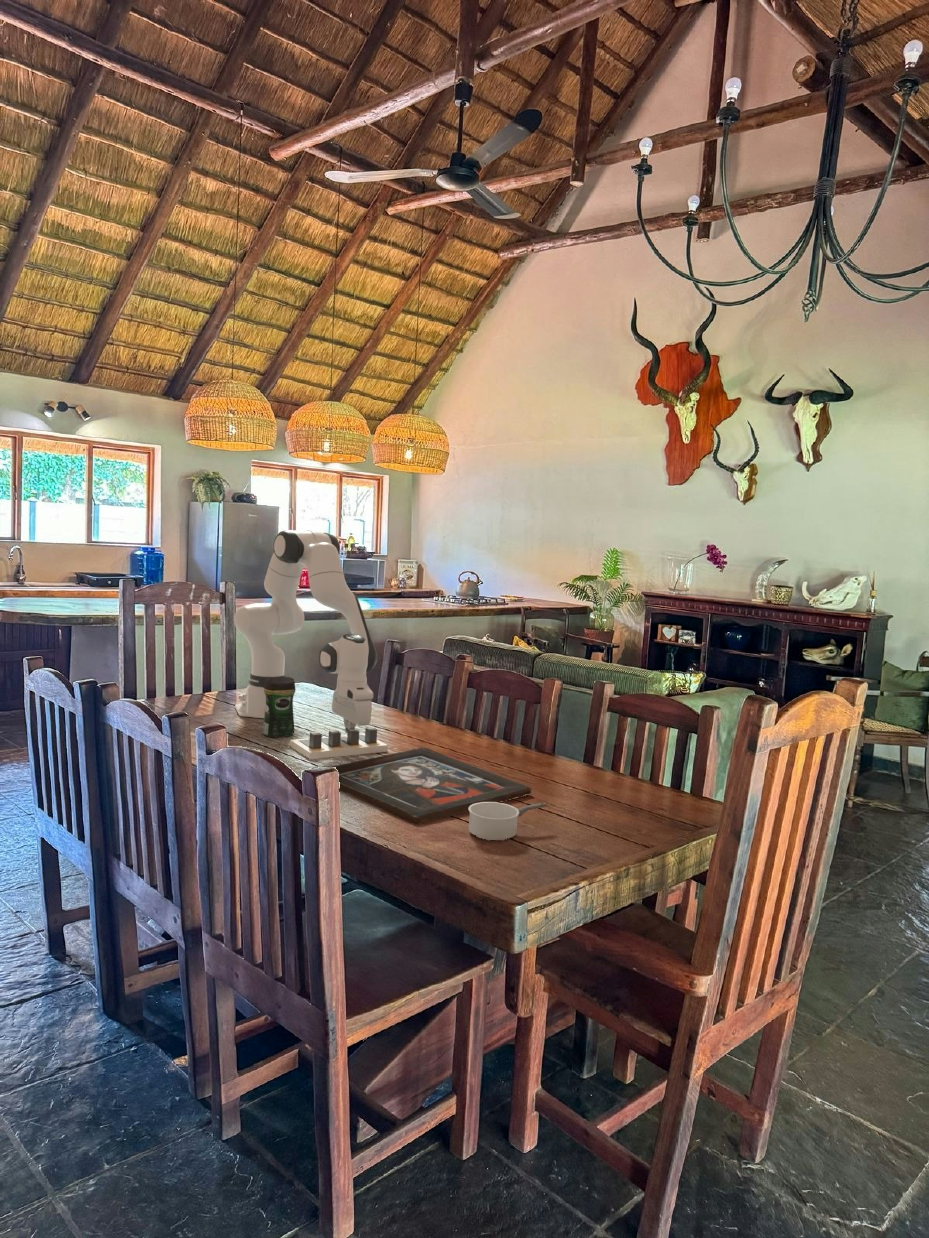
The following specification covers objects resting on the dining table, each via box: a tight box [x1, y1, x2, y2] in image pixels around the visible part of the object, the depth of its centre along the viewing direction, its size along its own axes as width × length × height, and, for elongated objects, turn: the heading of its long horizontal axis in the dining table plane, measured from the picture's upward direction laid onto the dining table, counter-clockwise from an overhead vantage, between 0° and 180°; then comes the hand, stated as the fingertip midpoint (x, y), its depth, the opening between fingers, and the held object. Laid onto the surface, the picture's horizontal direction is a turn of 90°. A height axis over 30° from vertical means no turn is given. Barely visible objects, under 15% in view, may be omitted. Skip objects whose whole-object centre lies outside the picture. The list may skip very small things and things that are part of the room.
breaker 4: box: [364, 727, 378, 743], centre depth 246 cm, size 3×2×4 cm
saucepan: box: [468, 802, 548, 841], centre depth 184 cm, size 12×20×6 cm, turn 120°
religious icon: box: [331, 747, 532, 825], centre depth 214 cm, size 40×45×3 cm
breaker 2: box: [328, 729, 342, 747], centre depth 240 cm, size 3×2×4 cm
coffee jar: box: [262, 676, 296, 738], centre depth 255 cm, size 10×8×19 cm
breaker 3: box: [346, 728, 360, 745], centre depth 243 cm, size 3×2×4 cm
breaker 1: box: [309, 731, 323, 748], centre depth 236 cm, size 3×2×4 cm
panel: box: [289, 733, 389, 760], centre depth 244 cm, size 15×25×2 cm, turn 123°
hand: (349, 733), depth 245 cm, fingers closed
